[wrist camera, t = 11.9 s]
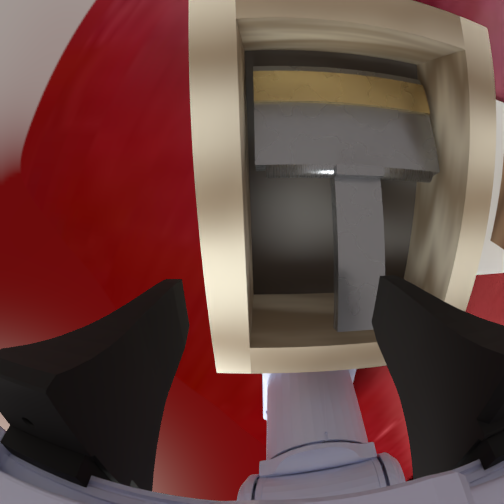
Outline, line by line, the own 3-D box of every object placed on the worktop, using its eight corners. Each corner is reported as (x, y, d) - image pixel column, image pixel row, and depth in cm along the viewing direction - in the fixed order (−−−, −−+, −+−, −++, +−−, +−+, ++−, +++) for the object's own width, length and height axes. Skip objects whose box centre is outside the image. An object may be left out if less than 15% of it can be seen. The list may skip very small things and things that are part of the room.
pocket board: (416, 307, 21) (448, 355, 16) (227, 315, 22) (216, 372, 17) (436, 45, 14) (487, 27, 8) (211, 26, 15) (189, -12, 9)
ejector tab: (436, 318, 14) (450, 323, 13) (258, 329, 15) (257, 337, 13) (413, 87, 15) (423, 75, 13) (254, 75, 15) (252, 60, 14)
